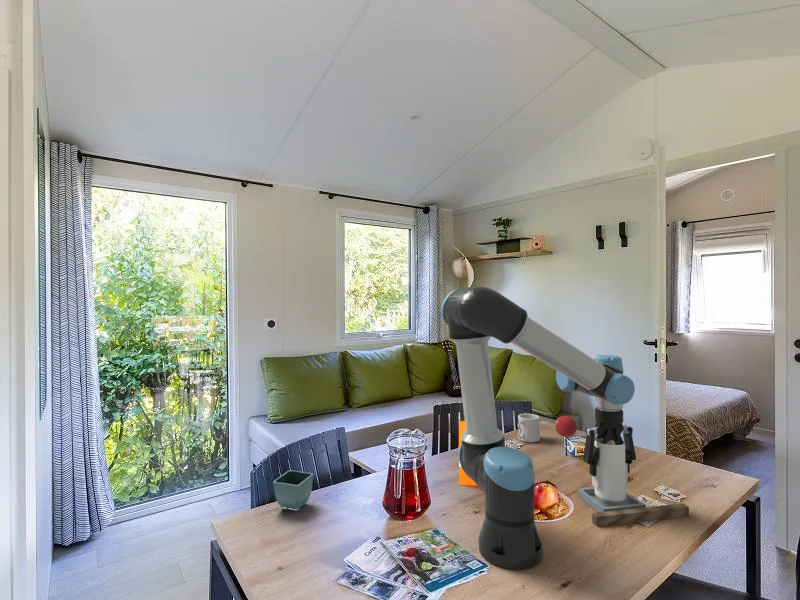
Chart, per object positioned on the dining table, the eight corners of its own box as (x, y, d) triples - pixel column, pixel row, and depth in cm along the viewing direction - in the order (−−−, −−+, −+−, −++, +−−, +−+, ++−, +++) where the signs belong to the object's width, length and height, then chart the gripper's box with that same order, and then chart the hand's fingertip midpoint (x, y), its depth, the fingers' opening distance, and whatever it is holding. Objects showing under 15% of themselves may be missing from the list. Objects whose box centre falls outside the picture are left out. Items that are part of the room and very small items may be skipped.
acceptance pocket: (603, 517, 120) (603, 509, 120) (577, 496, 133) (577, 488, 133) (645, 513, 122) (645, 504, 122) (615, 492, 135) (615, 484, 135)
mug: (525, 434, 192) (525, 412, 191) (544, 439, 185) (544, 416, 184) (509, 441, 184) (508, 417, 183) (527, 446, 177) (527, 422, 177)
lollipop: (562, 450, 172) (561, 412, 172) (580, 455, 166) (580, 416, 166) (551, 455, 167) (551, 416, 167) (570, 460, 161) (569, 420, 161)
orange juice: (486, 486, 141) (485, 425, 141) (459, 484, 143) (458, 424, 143) (485, 476, 149) (484, 418, 149) (459, 474, 151) (458, 417, 150)
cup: (629, 502, 123) (628, 446, 123) (598, 500, 124) (597, 444, 124) (620, 489, 131) (620, 436, 131) (591, 487, 132) (591, 435, 132)
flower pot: (299, 516, 124) (298, 485, 124) (272, 512, 127) (272, 481, 127) (314, 502, 133) (314, 473, 133) (289, 498, 136) (289, 469, 135)
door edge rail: (596, 526, 116) (596, 516, 116) (592, 522, 118) (592, 513, 118) (688, 515, 120) (688, 506, 120) (683, 512, 122) (683, 503, 122)
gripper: (583, 413, 122) (584, 494, 122) (650, 409, 125) (651, 487, 126) (568, 407, 129) (569, 482, 130) (632, 403, 133) (633, 476, 133)
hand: (609, 485), depth 128 cm, fingers closed on cup, 8 cm apart
